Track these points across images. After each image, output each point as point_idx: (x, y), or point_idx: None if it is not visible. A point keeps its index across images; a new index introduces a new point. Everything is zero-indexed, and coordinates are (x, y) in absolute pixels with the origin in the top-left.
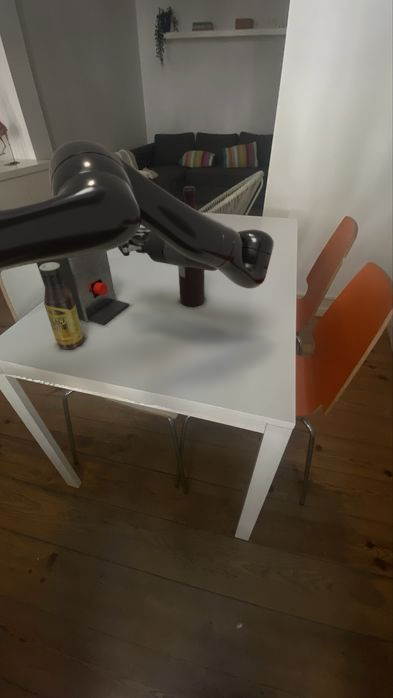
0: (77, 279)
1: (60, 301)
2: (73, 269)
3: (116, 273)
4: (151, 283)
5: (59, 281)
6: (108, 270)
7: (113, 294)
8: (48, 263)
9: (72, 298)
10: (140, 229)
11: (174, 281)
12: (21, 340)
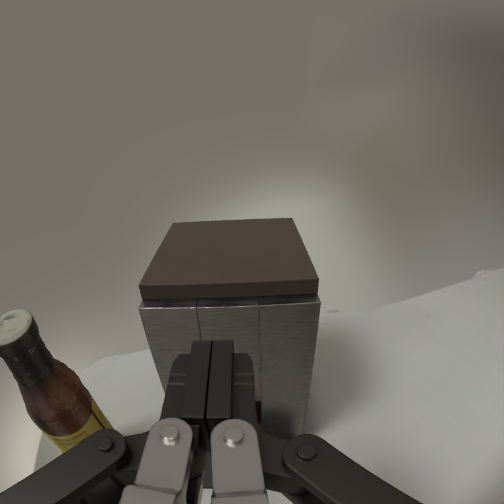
0: (161, 378)
1: (27, 406)
2: (152, 353)
3: (393, 354)
4: (424, 440)
5: (16, 373)
6: (300, 391)
7: (294, 434)
8: (23, 316)
9: (56, 422)
10: (336, 501)
11: (470, 467)
12: (98, 380)
